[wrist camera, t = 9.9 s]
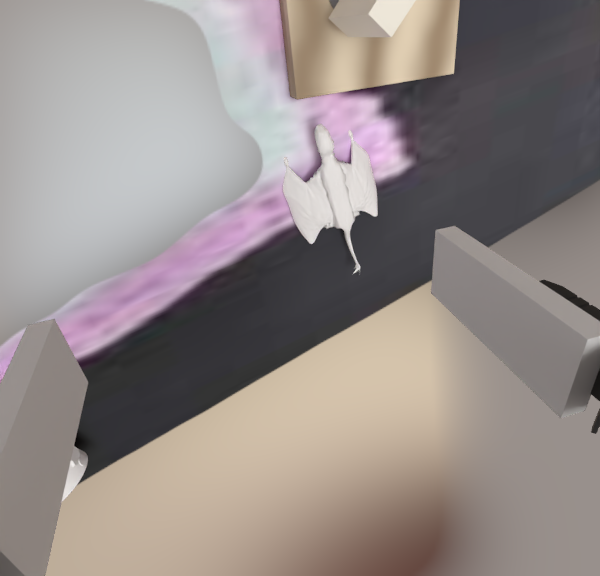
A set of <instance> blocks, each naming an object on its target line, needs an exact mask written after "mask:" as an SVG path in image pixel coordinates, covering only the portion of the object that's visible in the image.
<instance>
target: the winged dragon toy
mask: <svg viewBox="0 0 600 576" xmlns="http://www.w3.org/2000/svg"><path fill="white" fill-rule="evenodd" d="M348 134H349V137H350V138H351V164H350V163H349V164H348V163H346V164H345V162H344V163H343V161H342V163H341V162H340V161H337V158H336V157H334V155H335V153H333V150H334V148H333V147H334V144H333V143H334V141H333V140H332V139H331V136H330V134H329V132H328V130H327V129H326V128H325V127H324V126H323V125H322V124H319V125H317V126H316V129H315V139H316V144H317V147H318V152H320V156H321V158H322V159H321V160H322V162H321V163H322V164H321V167H320V168H319V169H318V170H317V174H316V173H315V175H313V178H311V177H310V180H309V181H307V183H306V182H304V181H303V180H302V179H301V178H300V177H299V176H298V175H297V174H296V173H295V172H294V171H293V170H292V169H291V168H290V167H289V166H288V165H289V164H288V159H287V157H284V163H285V165H286V173H285V177H284V181H283V193H284V196H285V198H286V200H287V203H288V205H289V208H290V211H291V214H292V217H293V219H294V222H295V224H296V226H297V227H298V229H299V231H300V232H301V234H302V235H303V236H304V237H305V239H306V240H307V241H308V242H309V243H310V244H313V243H314V241H315V240H316V237H317V235H318V234H319V232H320V230H321V229H322V228H323V227H325V228H326V229H327V228H329V227H330V228H331V227H332V228H333V226H334V227H335V226H336V228H337V229H338V228H341V229H343V231H344V235H345V236H344V237H345V239H346V241H347V245H348V248H349V250H350V252H351V254H352V256H353V259H354V261H355V262H356V266H355V268H357V269H356V270H355V272H354V273H356V272H357V271H358V270H359V271H360V268H361V267H360V265H359V264H358V262H357V259H356V257H355V254H354V251H353V247H352V244H351V239H350V230H351V226H352V224H353V222H354V221H355V218H354V217H356V215H357V216H358V214H359V211H365V212H367V213H369V214H371V215H372V216H374V217H376V216H377V215H378V212H377V190H376V184H375V180H374V176H373V172H372V168H371V163H370V158H369V155H368V153H367V152H366V151H365V150H364V149H363V148H362V147H361V146H360V145H358V144H357V143H356V142H355V141H354V140H353V134H352V132H351V130H350V131H348ZM355 268H354V269H355ZM354 273H353V274H354Z"/></svg>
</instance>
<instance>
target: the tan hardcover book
mask: <svg viewBox="0 0 600 576" xmlns="http://www.w3.org/2000/svg"><path fill="white" fill-rule="evenodd" d="M279 1H280V10H281V19H282V28H283V37H284V45H285V54H286V63H287V72H288V81H289V90H290V96H291V97H293V98H295V99H303V98H309V97H315V96H321V95H327V94H333V93H339V92H345V91H351V90H357V89H363V88H370V87H376V86H382V85H388V84H394V83H400V82H406V81H412V80H418V79H424V78H430V77H436V76H442V75H449V74H454V64H455V52H456V39H457V27H458V14H459V1H460V0H416V1H415V2H414V4H413V5H412V7H411V8H410V10H409V12H408V13H407V15H406V16H405V18H404V19H403V21H402V22H401V24H400V25H399V27H398V28H397V30H396V31H395V33H394V34H393V36H392V37H348V36H347V35H346V34H344V33H343V32H342V31H341V30H340V29H339V28H338V27H337V26H336V25H335V24H334V23H333V22H332V21H331V20H329V19H328V18H329V16H330V15H331V13H332V11H333V10H334V9H333V8H332V6H331V4H330V2H329V0H279Z"/></svg>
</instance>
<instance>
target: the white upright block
mask: <svg viewBox="0 0 600 576" xmlns="http://www.w3.org/2000/svg"><path fill="white" fill-rule="evenodd" d="M415 1H416V0H329V2H330V4H331V6H332V8H333V9H334V10H333V11H332V13H331V15H330V16H329V18H328V19H329V20H331V21H332V22H333V23H334V24H335V25H336V26H337V27H338V28H339V29H340V30H341V31H342V32H343V33H344V34H346V35H347V36H348V37H392V36H393V34H394V33H395V31H396V30H397V28H398V27H399V25H400V24H401V22H402V21H403V19H404V18H405V16H406V15H407V13H408V12H409V10H410V8H411V7H412V5H413V4H414V2H415Z"/></svg>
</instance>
